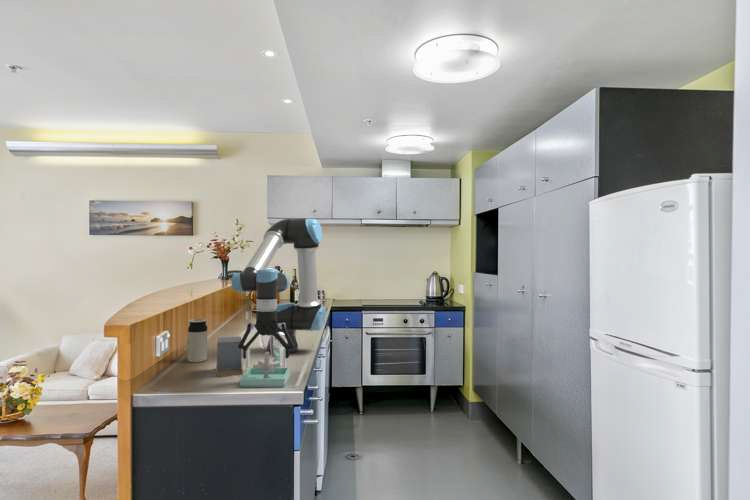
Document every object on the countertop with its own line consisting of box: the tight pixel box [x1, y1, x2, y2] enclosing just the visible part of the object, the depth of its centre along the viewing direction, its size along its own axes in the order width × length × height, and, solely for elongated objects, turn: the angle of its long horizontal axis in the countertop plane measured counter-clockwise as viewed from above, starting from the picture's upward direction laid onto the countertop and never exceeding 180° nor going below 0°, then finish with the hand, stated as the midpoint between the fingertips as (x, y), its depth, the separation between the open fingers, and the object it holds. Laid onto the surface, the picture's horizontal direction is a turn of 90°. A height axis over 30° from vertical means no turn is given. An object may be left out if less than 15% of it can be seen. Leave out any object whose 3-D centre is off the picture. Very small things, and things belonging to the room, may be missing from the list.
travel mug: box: [187, 318, 208, 363], centre depth 195 cm, size 8×8×18 cm
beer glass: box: [269, 332, 287, 368], centre depth 180 cm, size 7×7×15 cm
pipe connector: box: [252, 351, 280, 378], centre depth 164 cm, size 10×10×10 cm
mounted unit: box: [214, 336, 244, 378], centre depth 177 cm, size 13×10×13 cm
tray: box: [239, 367, 291, 389], centre depth 164 cm, size 16×16×3 cm
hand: (266, 367), depth 164 cm, fingers open, 13 cm apart
